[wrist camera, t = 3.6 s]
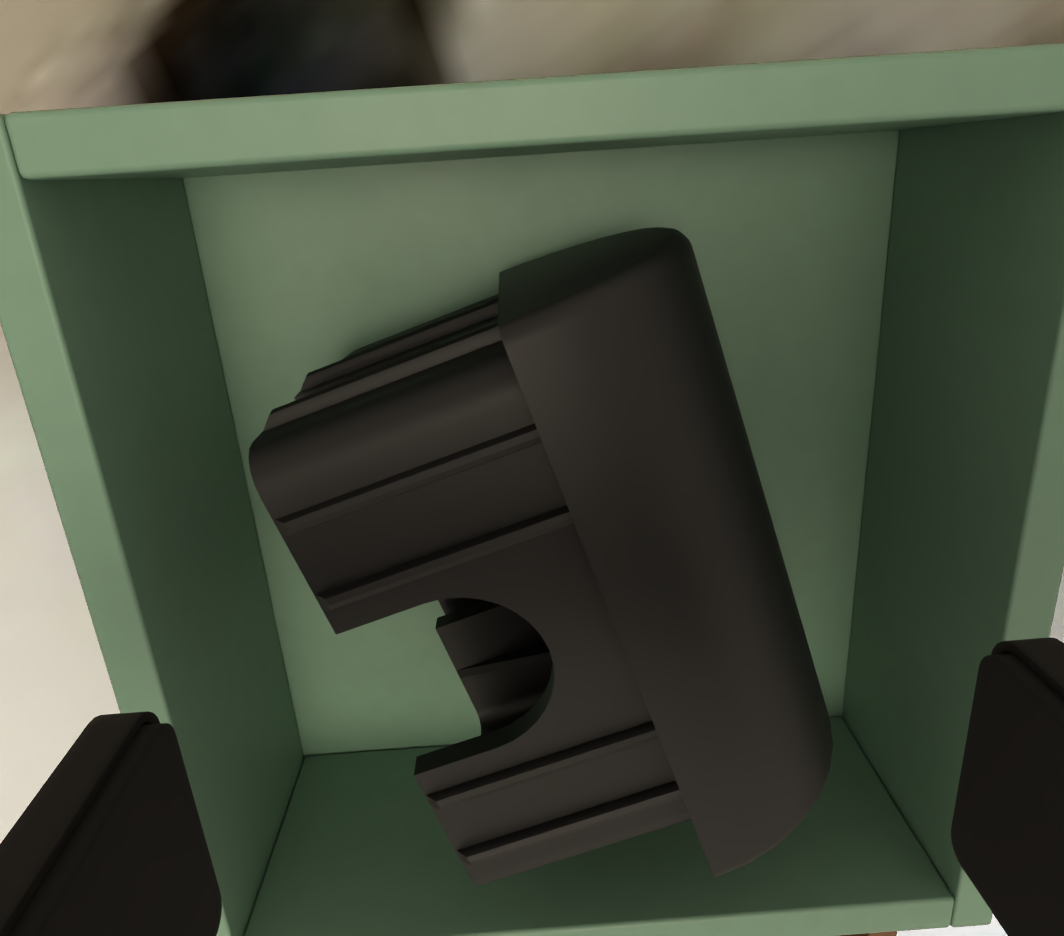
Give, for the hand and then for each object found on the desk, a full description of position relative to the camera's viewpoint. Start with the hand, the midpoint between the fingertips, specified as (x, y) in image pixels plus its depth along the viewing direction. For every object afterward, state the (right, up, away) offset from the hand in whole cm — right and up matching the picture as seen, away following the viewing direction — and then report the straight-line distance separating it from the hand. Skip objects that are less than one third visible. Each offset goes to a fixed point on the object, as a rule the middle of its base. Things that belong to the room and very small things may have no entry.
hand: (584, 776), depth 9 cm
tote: (0, +3, +9) cm, 9 cm away
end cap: (0, +3, +9) cm, 9 cm away
